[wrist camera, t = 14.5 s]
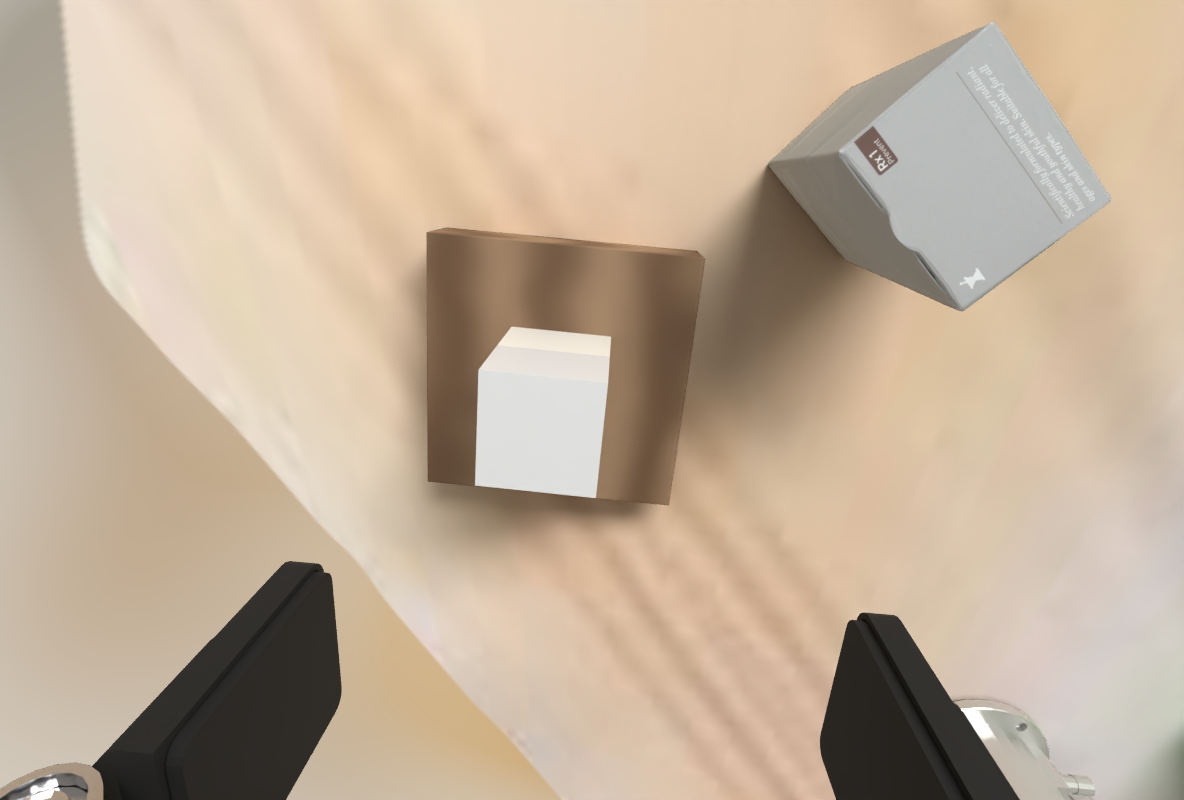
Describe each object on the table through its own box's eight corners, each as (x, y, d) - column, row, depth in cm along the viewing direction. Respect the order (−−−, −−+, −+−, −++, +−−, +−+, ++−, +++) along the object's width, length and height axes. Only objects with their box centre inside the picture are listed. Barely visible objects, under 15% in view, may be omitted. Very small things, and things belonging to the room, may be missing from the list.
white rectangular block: (611, 336, 36) (608, 382, 28) (601, 428, 38) (595, 498, 30) (511, 326, 36) (478, 369, 28) (507, 419, 39) (474, 485, 30)
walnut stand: (696, 251, 38) (705, 258, 35) (664, 477, 44) (668, 505, 40) (445, 227, 39) (426, 232, 35) (444, 455, 44) (427, 481, 40)
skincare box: (932, 190, 37) (1146, 195, 22) (833, 271, 38) (967, 327, 24) (849, 76, 35) (1021, -5, 20) (750, 166, 37) (838, 155, 22)
